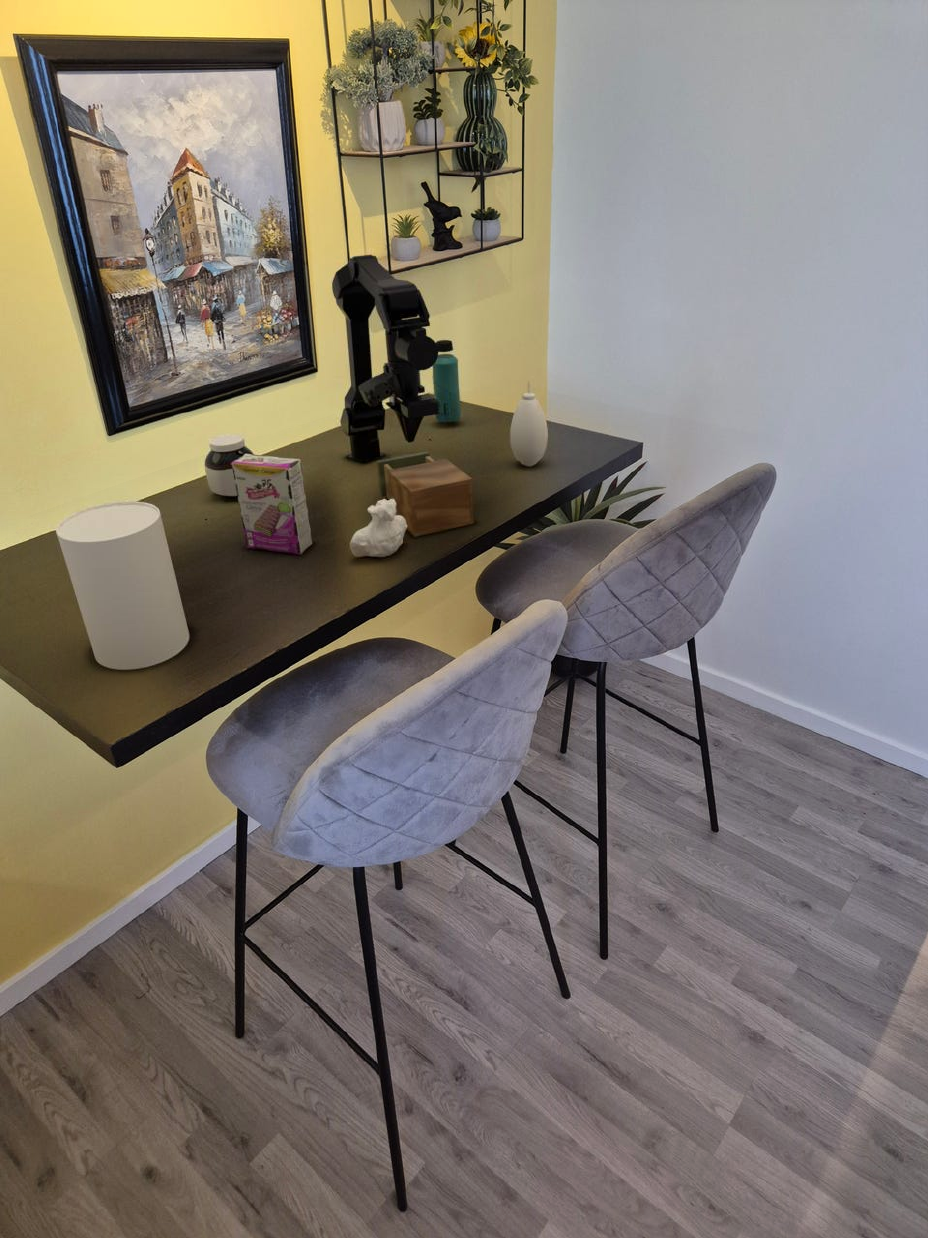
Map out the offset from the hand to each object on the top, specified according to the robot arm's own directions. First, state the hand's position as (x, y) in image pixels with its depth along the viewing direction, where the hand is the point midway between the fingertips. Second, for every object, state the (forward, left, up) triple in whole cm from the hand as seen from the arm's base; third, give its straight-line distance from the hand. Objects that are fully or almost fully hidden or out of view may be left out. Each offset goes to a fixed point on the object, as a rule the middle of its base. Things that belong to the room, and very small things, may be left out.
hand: (409, 441), depth 164 cm
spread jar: (-34, -19, -13) cm, 41 cm away
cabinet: (+9, -3, -12) cm, 16 cm away
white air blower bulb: (+4, +30, -13) cm, 33 cm away
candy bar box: (-4, -29, -13) cm, 32 cm away
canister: (+8, -62, -13) cm, 64 cm away
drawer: (0, 0, -12) cm, 12 cm away
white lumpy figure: (+13, -19, -13) cm, 26 cm away
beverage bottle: (-30, +39, -13) cm, 50 cm away
